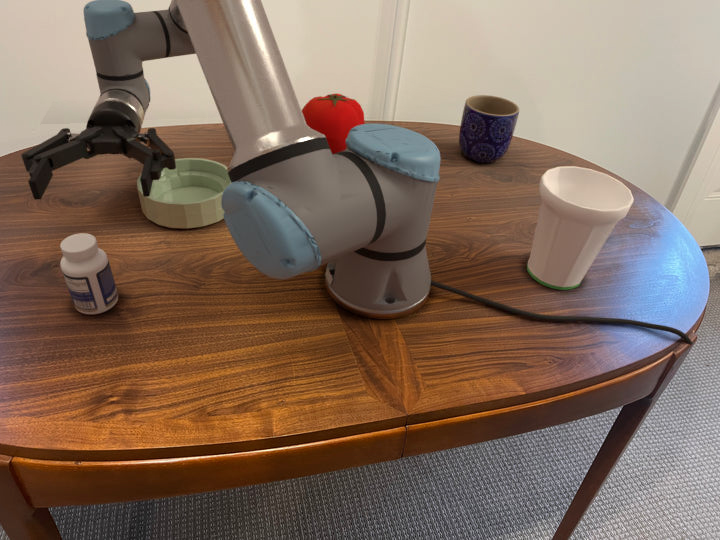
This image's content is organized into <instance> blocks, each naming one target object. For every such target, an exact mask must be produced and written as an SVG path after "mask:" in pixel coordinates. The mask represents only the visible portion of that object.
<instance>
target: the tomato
mask: <svg viewBox="0 0 720 540" xmlns="http://www.w3.org/2000/svg"><path fill="white" fill-rule="evenodd" d="M301 110H302V113H303V116H304V119H305V121H306V124H307V125H308V126H309V127H310V128H311V129H313V130H315V131H317V132H319V133H321V134H324V135H325V137H326V139H327V142H328V145H329V147H330V150H331V153H332V154H335V153H338V152H341V151H344V150H346V148H347V144H346V138H347V137H348V134H349V131H350V130H351V129H352V128H354V127H355V126H358V125H362V124H366V123H365V113H364V109H363V107H362V105H361V104H360V102H358V101H357V100H356V99H354V98H351V97H348V96H346V95H344V94H341V93H329V94H327V95H325V96H321V95H319V96H315V97H312V98H311V99H309V100H308V102H307V103H306V104H305V105H304V106H303V107H302V108H301Z"/></svg>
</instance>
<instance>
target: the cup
mask: <svg viewBox="0 0 720 540" xmlns="http://www.w3.org/2000/svg"><path fill="white" fill-rule="evenodd" d="M538 191H539V197H540V200H541V201H540V206H539V210H538V215H537V216H538V217H537V220H536V224H535V231H534V235H533V241H532V244H531V249H530V254H529V258H528V260H527V264H526V270H527V273H528V274H529V275H530V276H531V278H532V279H534V281H536V282H537V283H539V284H540V285H542V286H545V287H547V288H550V289H554V290H558V291H559V290H560V291H567V290H573V289H576V288H578V287H580V285H581V284H582V283H581V282H582V281H583V279H584V277H585V276H586V274H587V272H588V271H589V269H590V268H591V267H592V264H593V263H594V261H595V260H596V259H597V256H598V255H599V253H600V252H601V250H602V248H603V246H604V244H605V243H606V241H607V240H608V238H609V236H610V235H611V233H612V232H613V230H614V228H615V227H616V225H617V223H618V222H619V221H622V220H623V219H624V218H626V216H627V215H628V213H629V211H630V209H631V206H632V205H633V203H634V201H635V199H634V196H633V194H632V190H631V189H630V188H628V187H627V186H626V185H625V184H624V183H623V182H622V181H621V180H618V179H616V178H615V177H612V176H611V175H609V174H607V173H605V172H601V171H598V170H595V169H591V168H588V167H587V168H586V167H580V166H576V165H569V166H567V165H566V166H556V167H553V168H550V169H547V170H546V171H545V172H544V173H543V174H542V175H541V178H540V182H539V184H538Z"/></svg>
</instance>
